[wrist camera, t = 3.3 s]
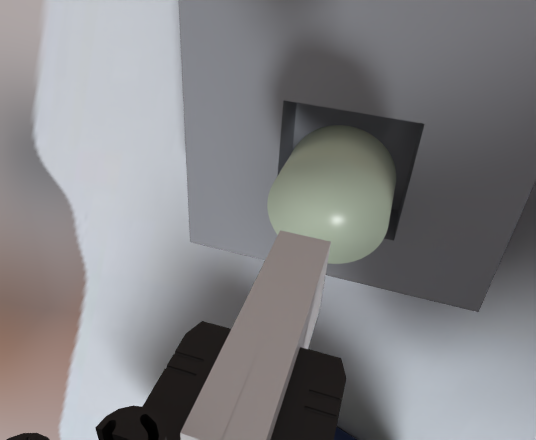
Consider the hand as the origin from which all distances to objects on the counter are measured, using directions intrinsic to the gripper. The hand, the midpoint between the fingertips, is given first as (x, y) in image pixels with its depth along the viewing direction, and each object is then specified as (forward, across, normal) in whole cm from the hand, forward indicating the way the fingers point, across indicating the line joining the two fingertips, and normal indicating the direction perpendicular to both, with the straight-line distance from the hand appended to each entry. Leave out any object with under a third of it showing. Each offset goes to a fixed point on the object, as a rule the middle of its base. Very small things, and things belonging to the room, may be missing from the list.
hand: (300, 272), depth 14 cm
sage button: (+7, 0, 0) cm, 7 cm away
